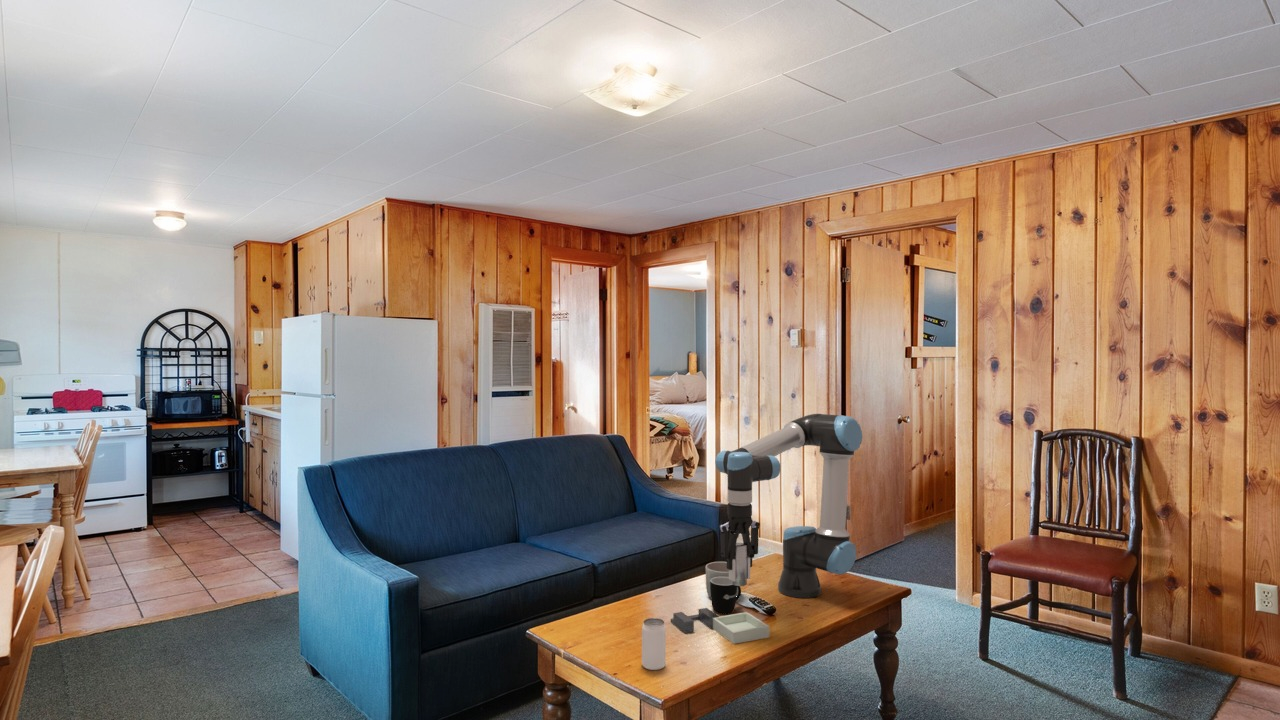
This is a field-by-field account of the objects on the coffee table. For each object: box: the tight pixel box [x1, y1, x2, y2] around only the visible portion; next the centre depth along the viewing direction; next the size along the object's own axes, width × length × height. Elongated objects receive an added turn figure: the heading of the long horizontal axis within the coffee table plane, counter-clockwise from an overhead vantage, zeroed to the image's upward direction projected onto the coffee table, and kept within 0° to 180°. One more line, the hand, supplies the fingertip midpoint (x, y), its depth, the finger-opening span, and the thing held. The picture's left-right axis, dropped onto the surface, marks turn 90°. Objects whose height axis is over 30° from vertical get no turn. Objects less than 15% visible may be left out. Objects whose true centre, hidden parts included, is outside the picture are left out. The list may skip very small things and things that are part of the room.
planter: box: [705, 561, 738, 599], centre depth 241 cm, size 12×12×11 cm
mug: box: [710, 577, 742, 615], centre depth 229 cm, size 12×9×10 cm
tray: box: [712, 611, 770, 645], centre depth 210 cm, size 13×13×3 cm
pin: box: [732, 542, 748, 587], centre depth 211 cm, size 5×5×12 cm
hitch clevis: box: [670, 607, 720, 634], centre depth 216 cm, size 12×10×4 cm
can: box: [641, 617, 667, 671], centre depth 188 cm, size 6×6×12 cm
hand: (739, 578), depth 211 cm, fingers closed on pin, 5 cm apart
